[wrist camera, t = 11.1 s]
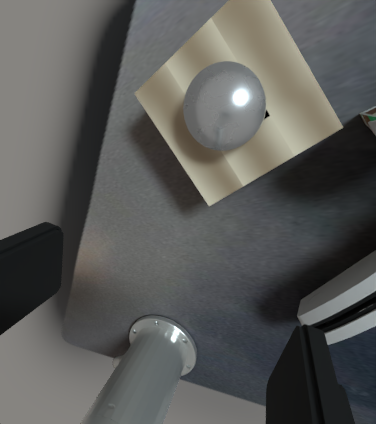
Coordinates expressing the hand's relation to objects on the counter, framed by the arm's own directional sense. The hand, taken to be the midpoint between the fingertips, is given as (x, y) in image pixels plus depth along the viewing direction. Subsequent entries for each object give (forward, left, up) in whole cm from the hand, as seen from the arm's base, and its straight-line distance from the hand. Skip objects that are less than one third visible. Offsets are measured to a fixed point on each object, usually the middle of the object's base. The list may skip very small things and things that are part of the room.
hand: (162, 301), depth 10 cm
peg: (+3, +7, -24) cm, 25 cm away
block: (+3, +7, -24) cm, 25 cm away
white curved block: (+6, -17, -25) cm, 31 cm away
